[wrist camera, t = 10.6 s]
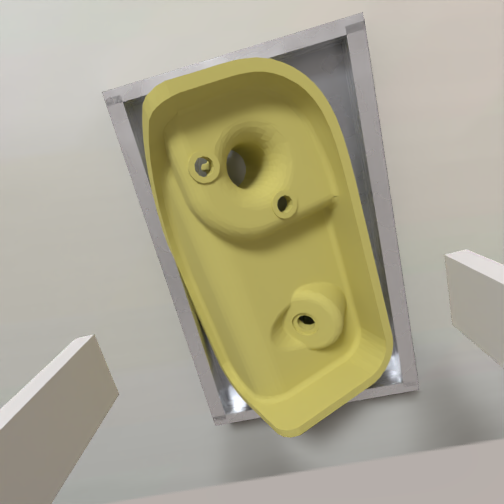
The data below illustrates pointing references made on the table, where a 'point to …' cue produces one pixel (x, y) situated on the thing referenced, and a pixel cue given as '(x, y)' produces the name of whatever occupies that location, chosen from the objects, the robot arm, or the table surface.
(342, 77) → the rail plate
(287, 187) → the plastic component
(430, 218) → the table surface
